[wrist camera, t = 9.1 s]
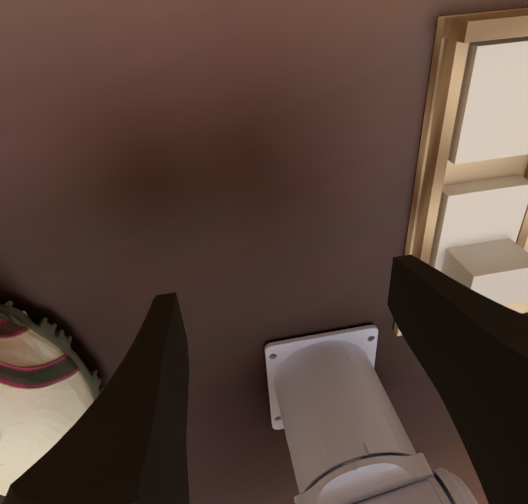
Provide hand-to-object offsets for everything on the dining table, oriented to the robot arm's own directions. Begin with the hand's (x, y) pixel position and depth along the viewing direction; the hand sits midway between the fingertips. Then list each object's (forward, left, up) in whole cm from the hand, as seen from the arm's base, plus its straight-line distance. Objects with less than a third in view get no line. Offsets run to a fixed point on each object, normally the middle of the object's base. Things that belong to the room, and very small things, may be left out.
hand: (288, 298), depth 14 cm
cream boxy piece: (-1, -13, -9) cm, 16 cm away
